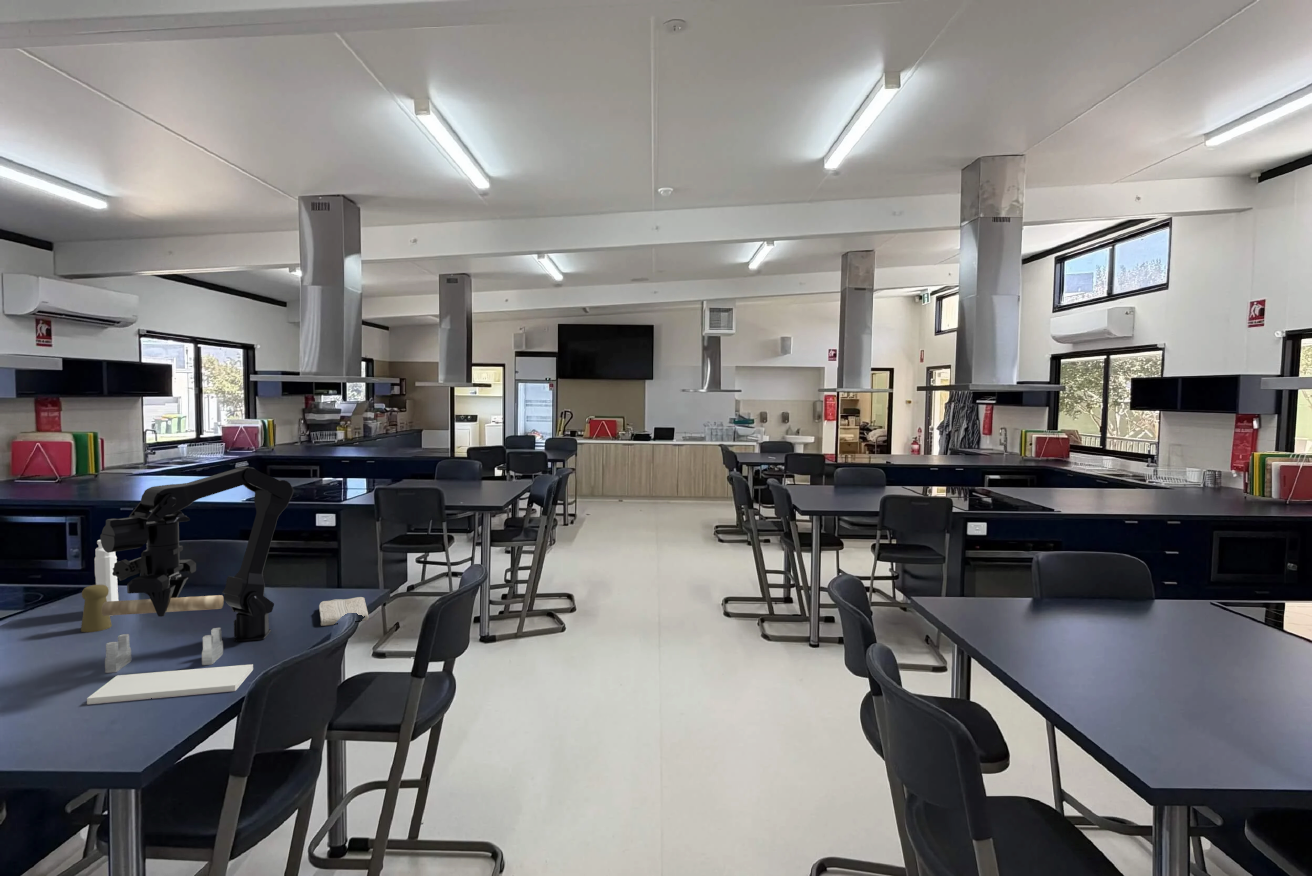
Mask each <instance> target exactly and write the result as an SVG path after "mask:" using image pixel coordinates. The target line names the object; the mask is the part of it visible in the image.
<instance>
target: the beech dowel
mask: <svg viewBox="0 0 1312 876" xmlns="http://www.w3.org/2000/svg"><path fill="white" fill-rule="evenodd" d="M224 602H225V601H224V596H223V594H221V595H220V594H218V595H205V596H204V595H201V596H186V597H184V596H183V597H182V596H181V597H179V596H178V598H171V599H170V602H169V605H168V608H167V611H166V613H172V612H173V613H175V612H189V611H190V612H191V611H205V610H219V609H220V610H221V609H223V607H224ZM139 614H140V615H141V614H143V615H144V614H157V613H156V610H155V608H154V605H153V603H152V601H151V599H150V598H147V599H146V598H145V599H130V600H119V601H107V602H104V603H103V605H102V615H103V616H110V615H113V616H126V615H139ZM110 617H111V616H110Z"/></svg>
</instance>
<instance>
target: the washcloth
mask: <svg viewBox="0 0 1312 876" xmlns="http://www.w3.org/2000/svg"><path fill="white" fill-rule="evenodd" d="M365 599H366V598H365V597H362V596H357V597H352V598H346V599H332V600H331V599H329V600H323V601H321V602H320V603H319V605H318V610H319V618H320V626H322V627H324V626H325V627H327V626H334V624H335V623H336V622H337V621H338V620H339V619H340V618H341V617H342V616H344V615H345V614H347V613H357V614H358V615H362V616H363V617H364V616H365V618H364V619H363V620H362V621H361V622H364V621H368V620H369V619H370V618H369V612H368V608H367V604H366V600H365Z"/></svg>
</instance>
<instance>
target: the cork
mask: <svg viewBox="0 0 1312 876" xmlns="http://www.w3.org/2000/svg"><path fill="white" fill-rule="evenodd" d="M108 592H109V589H108V587H107V586H106V585H96V584H92V585H87V586H86V587H84V588H83V590H82V591H81V597H82V599H83V600H84V605H83V610H82V611H83V613H82V619H81V625H80V632H81V633H94V632H95V633H97V632H101V631H104V630H108V629H110V628H111V627H112V620H111V616H103V615H102V605H103V603H104V602H107V600H106V596H107V595H108Z"/></svg>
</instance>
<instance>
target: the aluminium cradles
mask: <svg viewBox="0 0 1312 876" xmlns="http://www.w3.org/2000/svg"><path fill="white" fill-rule="evenodd" d="M210 633H211V634H207V635H204V636H203V637H202V651H201V666H208V665H209V666H210V665H213V664H215V662H217V660H219V659H220V658H221V657H222V656H223V655H224V640H222V639H223V638H222V627H213V628H212V629H211V630H210ZM131 662H132V648H131V647H130V633H126V634H124V633H123V634H120V635H118V636H117V641H109V642H107V643H105V658H104V669H105V670H104V673H105V674H110V673H111V674H112V673H118V672H119V671H120V670H122V669H123V668H124V667H126V666H127V665H128V664H129V663H131Z"/></svg>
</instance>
